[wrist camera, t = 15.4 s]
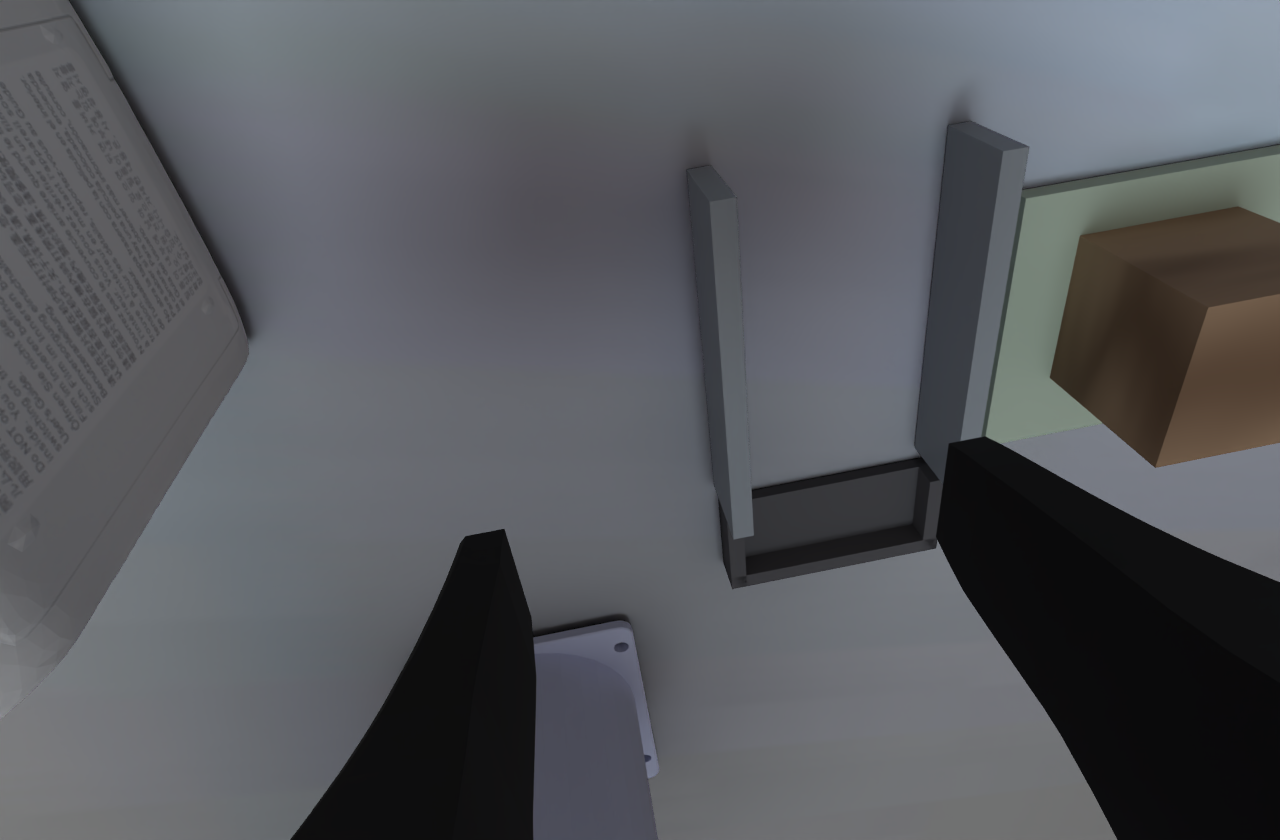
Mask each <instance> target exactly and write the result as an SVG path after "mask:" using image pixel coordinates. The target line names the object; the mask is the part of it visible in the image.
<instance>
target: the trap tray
mask: <svg viewBox="0 0 1280 840" xmlns="http://www.w3.org/2000/svg"><path fill="white" fill-rule="evenodd" d="M942 488H943V484H942V482H941V481H940V480H939V479H938V477H937V476H936V475H935V473H934V472H933V471H932V469H931V468H930V467H929V466H928V464H927V463H926V462H925V460H924V459H923V458H919V459H913V460H908V461H903V462H898V463H893V464H887V465H882V466H877V467H872V468H867V469H862V470H856V471H851V472H846V473H841V474H836V475H831V476H825V477H820V478H815V479H810V480H805V481H799V482H794V483H789V484H784V485H779V486H774V487H768V488H763V489H758V490H753V491H752V509H753V529H754V536H749V537H744V538H739V539H733V536H732V533H731V531H730V528H729V525H728V523H727V520H726V517H725V514H724V512H723V509H722V506H721V503H720V501H719V498H718V501H719V513H720V525H721V537H722V549H723V561H724V566H725V569H726V572H727V575H728V578H729V580H730V583H731V586H732V589H735V588H740V587H745V586H750V585H755V584H760V583H765V582H770V581H775V580H780V579H785V578H790V577H795V576H800V575H805V574H810V573H815V572H820V571H825V570H830V569H835V568H840V567H845V566H850V565H855V564H860V563H865V562H870V561H875V560H880V559H885V558H890V557H895V556H900V555H905V554H910V553H915V552H920V551H925V550H930V549H935V548H936V545H937V538H936V532H937V525H938V518H939V510H940V503H941V496H942Z"/></svg>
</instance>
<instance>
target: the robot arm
mask: <svg viewBox="0 0 1280 840" xmlns="http://www.w3.org/2000/svg"><path fill="white" fill-rule="evenodd" d="M936 538H937V540H938V542H939V544H940V546H941V548H942V550H943V552H944V554H945V556H946V558H947V560H948V562H949V564H950V566H951V568H952V570H953V572H954V574H955V576H956V578H957V580H958V582H959V583H960V585H961V587H962V589H963V591H964V592H965V594H966V595H967V597H968V598H969V600H970V602H971V603H972V605H973V606H974V607H975V609H976V610H977V612H978V613H979V615H980V616H981V618H982V619H983V621H984V622H985V624H986V625H987V627H988V628H989V630H990V631H991V632H992V634H993V635H994V637H995V638H996V640H997V641H998V643H999V644H1000V645H1001V647H1002V648H1003V650H1004V651H1005V653H1006V654H1007V656H1008V657H1009V658H1010V660H1011V661H1012V663H1013V664H1014V666H1015V667H1016V669H1017V670H1018V671H1019V673H1020V674H1021V676H1022V677H1023V679H1024V680H1025V682H1026V683H1027V684H1028V686H1029V687H1030V689H1031V690H1032V692H1033V693H1034V695H1035V696H1036V697H1037V699H1038V700H1039V702H1040V703H1041V705H1042V706H1043V708H1044V709H1045V711H1046V712H1047V714H1048V715H1049V717H1050V719H1051V720H1052V722H1053V723H1054V725H1055V726H1056V728H1057V730H1058V731H1059V733H1060V734H1061V736H1062V738H1063V740H1064V741H1065V743H1066V745H1067V747H1068V749H1069V750H1070V752H1071V754H1072V756H1073V758H1074V759H1075V761H1076V763H1077V765H1078V767H1079V768H1080V770H1081V772H1082V774H1083V776H1084V777H1085V779H1086V781H1087V783H1088V785H1089V786H1090V788H1091V790H1092V792H1093V794H1094V796H1095V797H1096V799H1097V801H1098V803H1099V805H1100V807H1101V809H1102V811H1103V813H1104V815H1105V817H1106V818H1107V820H1108V822H1109V824H1110V826H1111V828H1112V830H1113V832H1114V834H1115V836H1116V838H1117V840H1280V582H1278V581H1275V580H1273V579H1270V578H1268V577H1265V576H1263V575H1261V574H1258V573H1256V572H1253V571H1251V570H1248V569H1246V568H1244V567H1241V566H1239V565H1236V564H1234V563H1232V562H1229V561H1227V560H1224V559H1222V558H1220V557H1217V556H1215V555H1213V554H1211V553H1208V552H1206V551H1204V550H1202V549H1199V548H1197V547H1195V546H1193V545H1191V544H1189V543H1187V542H1184V541H1182V540H1180V539H1178V538H1176V537H1174V536H1172V535H1170V534H1168V533H1166V532H1164V531H1162V530H1160V529H1158V528H1155V527H1153V526H1151V525H1149V524H1147V523H1145V522H1143V521H1141V520H1139V519H1137V518H1135V517H1134V516H1132V515H1130V514H1128V513H1126V512H1124V511H1122V510H1120V509H1118V508H1116V507H1114V506H1112V505H1110V504H1109V503H1107V502H1105V501H1103V500H1101V499H1099V498H1097V497H1096V496H1094V495H1092V494H1090V493H1088V492H1086V491H1084V490H1083V489H1081V488H1079V487H1077V486H1075V485H1074V484H1072V483H1070V482H1068V481H1066V480H1065V479H1063V478H1061V477H1059V476H1057V475H1056V474H1054V473H1052V472H1050V471H1048V470H1047V469H1045V468H1043V467H1041V466H1040V465H1038V464H1036V463H1034V462H1032V461H1031V460H1029V459H1027V458H1025V457H1023V456H1022V455H1020V454H1018V453H1016V452H1014V451H1013V450H1011V449H1009V448H1007V447H1005V446H1003V445H1001V444H1000V443H998V442H996V441H994V440H992V439H990V438H988V437H986V436H984V437H979V438H973V439H968V440H963V441H958V442H953V443H949V445H948V452H947V459H946V466H945V474H944V481H943V488H942V496H941V503H940V510H939V518H938V525H937V532H936ZM620 642H623V643H620ZM658 772H659V764H658V759H657V753H656V748H655V743H654V738H653V733H652V728H651V722H650V717H649V712H648V707H647V702H646V697H645V692H644V686H643V681H642V676H641V671H640V666H639V661H638V655H637V650H636V645H635V640H634V635H633V630H632V626H631V625H630V624H629V623H628V622H626V621H613V622H608V623H603V624H598V625H593V626H588V627H583V628H578V629H573V630H568V631H563V632H558V633H553V634H548V635H543V636H538V637H533V631H532V620H531V615H530V611H529V608H528V605H527V602H526V598H525V595H524V592H523V589H522V585H521V582H520V579H519V575H518V572H517V569H516V566H515V562H514V559H513V556H512V553H511V549H510V546H509V543H508V539H507V536H506V533H505V530H504V529H501V530H496V531H491V532H485V533H480V534H475V535H470V536H465V538H464V539H463V540H462V541H461V543H460V545H459V548H458V550H457V553H456V556H455V558H454V561H453V563H452V566H451V568H450V571H449V573H448V576H447V578H446V581H445V583H444V585H443V588H442V590H441V592H440V594H439V597H438V599H437V601H436V603H435V606H434V608H433V610H432V612H431V614H430V616H429V618H428V620H427V622H426V625H425V627H424V629H423V631H422V633H421V635H420V637H419V639H418V641H417V643H416V645H415V647H414V649H413V651H412V653H411V655H410V657H409V659H408V661H407V663H406V664H405V666H404V668H403V670H402V672H401V673H400V675H399V677H398V679H397V681H396V682H395V684H394V686H393V688H392V690H391V691H390V693H389V695H388V697H387V699H386V700H385V702H384V704H383V706H382V707H381V709H380V711H379V712H378V714H377V716H376V717H375V719H374V721H373V722H372V724H371V726H370V727H369V729H368V730H367V732H366V734H365V735H364V737H363V738H362V740H361V741H360V743H359V744H358V746H357V747H356V749H355V750H354V752H353V754H352V755H351V757H350V758H349V760H348V761H347V763H346V764H345V766H344V767H343V769H342V770H341V771H340V773H339V774H338V776H337V777H336V778H335V780H334V781H333V783H332V784H331V785H330V787H329V788H328V790H327V791H326V792H325V794H324V795H323V797H322V798H321V799H320V801H319V802H318V803H317V805H316V806H315V808H314V809H313V810H312V812H311V813H310V815H309V816H308V817H307V819H306V820H305V821H304V822H303V824H302V825H301V826H300V828H299V829H298V830H297V832H296V833H295V834H294V836H293V837H292V838H291V839H290V840H658V836H657V830H656V824H655V818H654V812H653V806H652V800H651V794H650V788H649V782H648V778H651V777H654V776H655V775H657V773H658Z"/></svg>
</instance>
